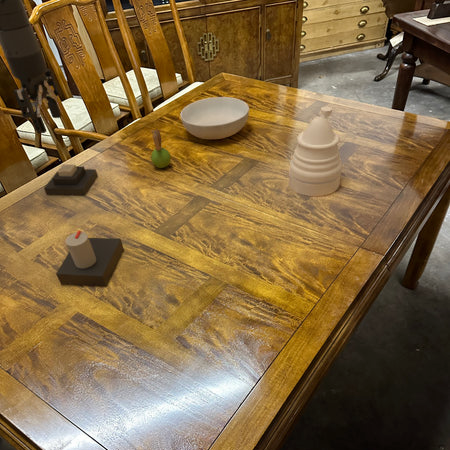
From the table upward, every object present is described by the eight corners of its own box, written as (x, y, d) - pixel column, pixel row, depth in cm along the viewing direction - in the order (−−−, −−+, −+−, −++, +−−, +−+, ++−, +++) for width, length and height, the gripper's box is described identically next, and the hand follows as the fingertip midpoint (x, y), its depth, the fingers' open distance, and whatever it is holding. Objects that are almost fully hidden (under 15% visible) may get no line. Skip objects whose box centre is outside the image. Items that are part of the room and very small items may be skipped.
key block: (46, 195, 112) (40, 182, 109) (61, 175, 119) (56, 162, 116) (85, 196, 111) (80, 182, 108) (98, 176, 117) (93, 163, 114)
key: (59, 177, 111) (57, 171, 110) (65, 170, 114) (62, 164, 112) (72, 177, 111) (70, 171, 109) (77, 170, 113) (75, 164, 112)
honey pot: (314, 164, 113) (320, 95, 100) (350, 183, 106) (362, 111, 93) (278, 182, 109) (280, 111, 96) (313, 202, 101) (320, 129, 88)
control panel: (60, 284, 87) (55, 273, 85) (82, 247, 95) (78, 237, 93) (106, 286, 86) (102, 275, 83) (124, 249, 94) (120, 238, 92)
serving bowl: (202, 114, 141) (200, 93, 136) (259, 122, 134) (259, 100, 129) (170, 142, 129) (167, 119, 124) (232, 152, 121) (230, 129, 116)
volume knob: (92, 268, 85) (83, 244, 81) (72, 268, 86) (61, 244, 81) (99, 254, 88) (90, 230, 84) (79, 254, 89) (69, 230, 84)
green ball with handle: (152, 174, 116) (142, 132, 107) (154, 162, 120) (145, 121, 112) (171, 172, 116) (163, 130, 107) (172, 161, 120) (165, 119, 112)
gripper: (22, 60, 85) (51, 138, 97) (52, 39, 95) (75, 112, 106) (-12, 61, 86) (22, 138, 98) (22, 40, 96) (48, 112, 107)
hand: (50, 124), depth 102 cm, fingers open, 8 cm apart
